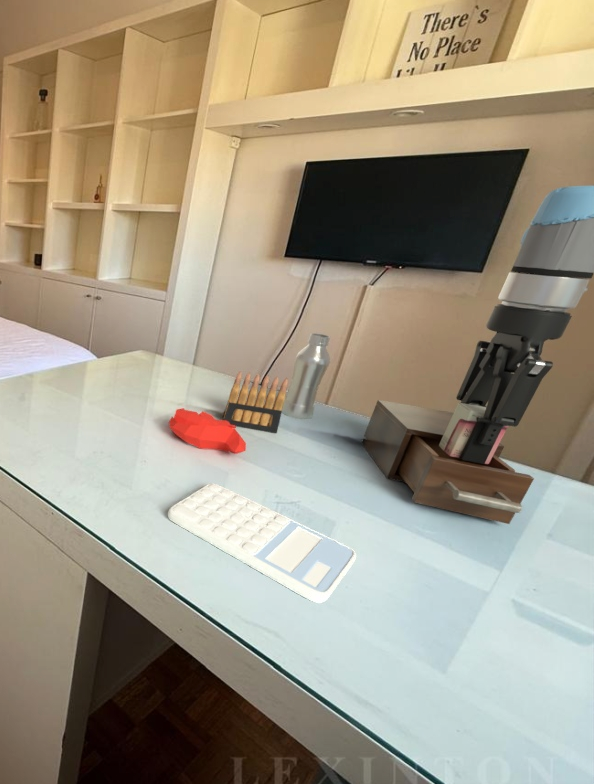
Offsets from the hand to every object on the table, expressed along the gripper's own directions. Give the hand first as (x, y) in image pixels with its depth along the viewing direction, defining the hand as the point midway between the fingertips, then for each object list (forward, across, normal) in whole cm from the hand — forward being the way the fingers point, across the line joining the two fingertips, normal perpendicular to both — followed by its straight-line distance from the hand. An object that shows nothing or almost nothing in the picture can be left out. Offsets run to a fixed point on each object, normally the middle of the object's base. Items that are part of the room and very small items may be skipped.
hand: (463, 453), depth 72 cm
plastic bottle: (+9, +26, +18) cm, 33 cm away
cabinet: (+9, +12, 0) cm, 15 cm away
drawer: (+8, -1, 0) cm, 8 cm away
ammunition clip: (+9, +16, +28) cm, 33 cm away
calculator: (+9, -27, +30) cm, 41 cm away
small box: (0, 0, 0) cm, 0 cm away
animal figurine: (+9, +2, +36) cm, 37 cm away
